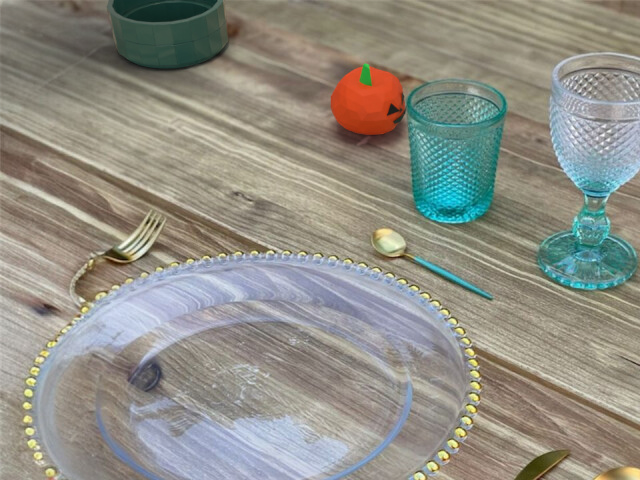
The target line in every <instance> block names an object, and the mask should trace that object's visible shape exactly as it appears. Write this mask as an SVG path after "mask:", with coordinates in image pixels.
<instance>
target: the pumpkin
mask: <svg viewBox="0 0 640 480" xmlns="http://www.w3.org/2000/svg"><path fill="white" fill-rule="evenodd" d="M330 109H331V113H332V115H333V117H334V119H335V120H336V122H337V123H338V124H339V125H340V126H341V127H342V128H344V129H345V130H347V131H349V132H352V133H355V134H357V135H358V134H359V135H365V136H375V135H377V136H378V135H384V134H387V133H389V132H391V131H393V130H395V128H396V127H397V125H398V124H400V122H401V121H402V119H403V118H404V117H405V115H406V114H407V113H406V112H407V107H406V102H405V94H404V90H403V85H402V83H401V82H400V80H399V78H398V77H397V76H396V75H394V74H392V73H391V72H390V71H386V70H383V69H379V68H376V67H373V66H371V65H370V64H368V63H366V62H365V63H363V65H362V66H360V67H359V66H358V67H356V68H354V69H352V70H351V71H349V72H348V73H346V74H345V75H343V77H342V78H341V79H340V80H339V81H338V82H337V84H336V86H335V88H334V89H333V91H332V93H331V95H330Z"/></svg>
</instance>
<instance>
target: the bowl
mask: <svg viewBox="0 0 640 480" xmlns="http://www.w3.org/2000/svg"><path fill="white" fill-rule="evenodd" d="M106 11H107V16H108V19H109V24H110V29H111V33H112V37H113V42H114V47H115V48H116V49H115V50H117V52H118V54H119V55H120V56H122V57H123V58H125V59H126V60H128V61H129V62H131V63H133V64H135V65H138V66H141V67H145V68H150V69H162V70H163V69H179V68H180V69H181V68H186V67H192V66H195V65H198V64H201V63H204V62H206V61H209V60H210V59H212V58H214V57H215V56H217V55H218V54H220V52H221V51H222V50H223V49H224V47H226V46H227V44H228V42H229V38H230V32H229V25H228V19H227V10H226V4H225V0H107V3H106Z"/></svg>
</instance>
